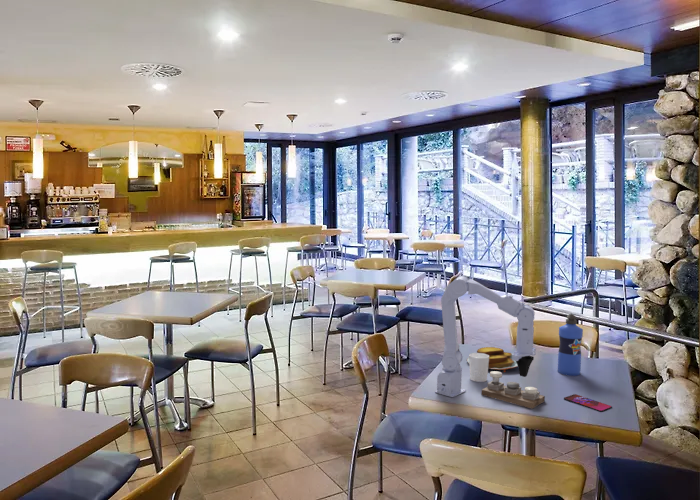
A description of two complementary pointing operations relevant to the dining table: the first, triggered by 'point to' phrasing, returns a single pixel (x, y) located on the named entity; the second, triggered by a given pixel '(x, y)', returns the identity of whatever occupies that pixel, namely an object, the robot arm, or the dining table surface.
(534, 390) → the right knob
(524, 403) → the knob mount
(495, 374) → the left knob
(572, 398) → the smartphone
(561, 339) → the water bottle
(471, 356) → the white cup
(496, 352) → the food on plate
